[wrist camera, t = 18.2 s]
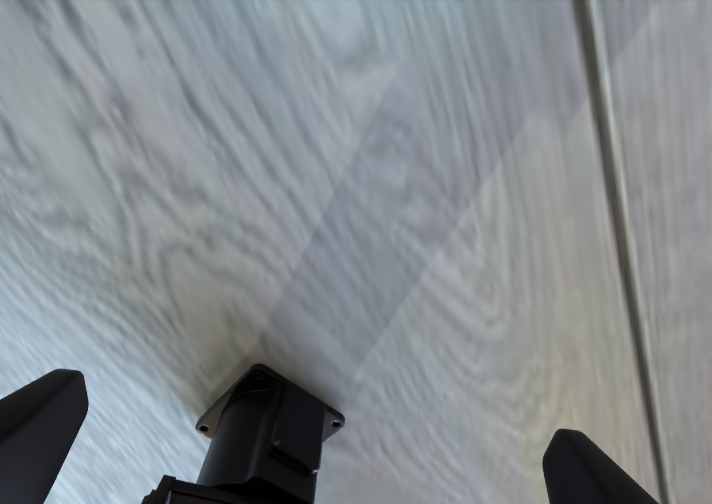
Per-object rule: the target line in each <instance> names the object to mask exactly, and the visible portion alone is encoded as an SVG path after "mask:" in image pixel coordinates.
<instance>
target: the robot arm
mask: <svg viewBox="0 0 712 504" xmlns="http://www.w3.org/2000/svg"><path fill="white" fill-rule="evenodd" d="M256 372H260V373H262V374H258V373H256ZM88 405H89V403H88V396H87V391H86V385H85V380H84V376H83V374H82V373H81V372H80V371H77V370H69V369H56V370H53V371H51V372H50V373H48V374H46V375H44V376H42V377H40V378H39V379H37V380H35V381H33V382H31V383H30V384H28V385H26V386H24V387H22V388H21V389H19V390H17V391H15V392H13V393H11V394H10V395H8V396H6V397H4V398H2V399H1V400H0V504H43V503H44V501H45V499H46V498H47V496H48V494H49V492H50V490H51V488H52V486H53V484H54V482H55V480H56V478H57V476H58V473H59V471H60V469H61V467H62V465H63V463H64V461H65V459H66V457H67V455H68V453H69V450H70V448H71V446H72V444H73V442H74V440H75V438H76V436H77V434H78V432H79V430H80V427H81V425H82V423H83V421H84V419H85V417H86V415H87V411H88ZM335 421H338V422H335ZM344 424H345V418H344V416H343V415H342V414H341V413H339V412H338V411H336V410H334V409H333V408H331V407H330V406H328V405H327V404H325V403H323V402H322V401H320V400H319V399H317V398H316V397H314V396H312V395H311V394H309V393H308V392H306V391H305V390H303V389H301V388H300V387H298V386H297V385H295V384H294V383H292V382H290V381H289V380H287V379H286V378H284V377H283V376H281V375H279V374H278V373H276V372H275V371H273V370H272V369H270V368H268V367H267V366H265V365H263V364H255V365H253V366H252V367H251V368H250V369H249V370H248V371H247V372H246V373H245V374H244V375H243V376H242V377H241V378H240V379H239V380H238V381H237V382H236V383H235V384H234V385H233V386H232V387H231V388H230V389H229V390H228V391H227V392H226V393H225V394H224V395H223V396H222V397H221V398H220V399H219V400H218V401H217V402H216V403H215V404H214V405H213V406H212V407H211V408H210V409H209V410H208V411H207V412H206V413H205V414H204V415H203V416H202V417H200V418H199V420H198V422H197V424H196V430H197V431H198V432H199V433H201V434H203V435H204V436H206V437H208V438H210V439H212V441H211V444H210V447H209V449H208V452H207V455H206V458H205V460H204V463H203V466H202V469H201V472H200V474H199V477H198V480H197V483H196V484H194V483H190V482H185V481H181V480H176V477H173V476H168V475H164V476H163V478H162V480H161V482H160V484H159V485H158V487H157V489H156V490H152V492H151V493H150V495H147V496H144V499H143V501H142V503H141V504H314V500H315V490H316V481H317V472H318V470H319V468H320V463H321V453H322V444H324V443H325V442H326V441H327V440H329V439H330V438H331V437H332V436H334V435H335V434H336V433H337V432H339V431H340V430H341V429H342V428H343V427H344ZM542 464H543V472H544V477H545V482H546V487H547V492H548V498H549V503H550V504H659V503H658V502H657V501H656V500H655V499H653V498H652V497H651V496H650V495H649V494H648V493H647V492H646V491H645V490H644V489H643V488H642V487H641V486H639V485H638V484H637V483H636V482H635V481H634V480H633V479H632V478H631V477H630V476H629V475H628V474H627V473H626V472H624V471H623V470H622V469H621V468H620V467H619V466H618V465H617V464H616V463H615V462H614V461H613V460H612V459H610V458H609V457H608V456H607V455H606V454H605V453H604V452H603V451H602V450H601V449H600V448H599V447H598V446H597V445H595V444H594V443H593V442H592V441H591V440H590V439H589V438H588V437H587V436H586V435H585V434H583V433H582V432H580V431H578V430H570V429H558V430H557V431H556V432H555V434H554V436H553V438H552V440H551V442H550V444H549V446H548V448H547V450H546V452H545V454H544V456H543V463H542Z"/></svg>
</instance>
